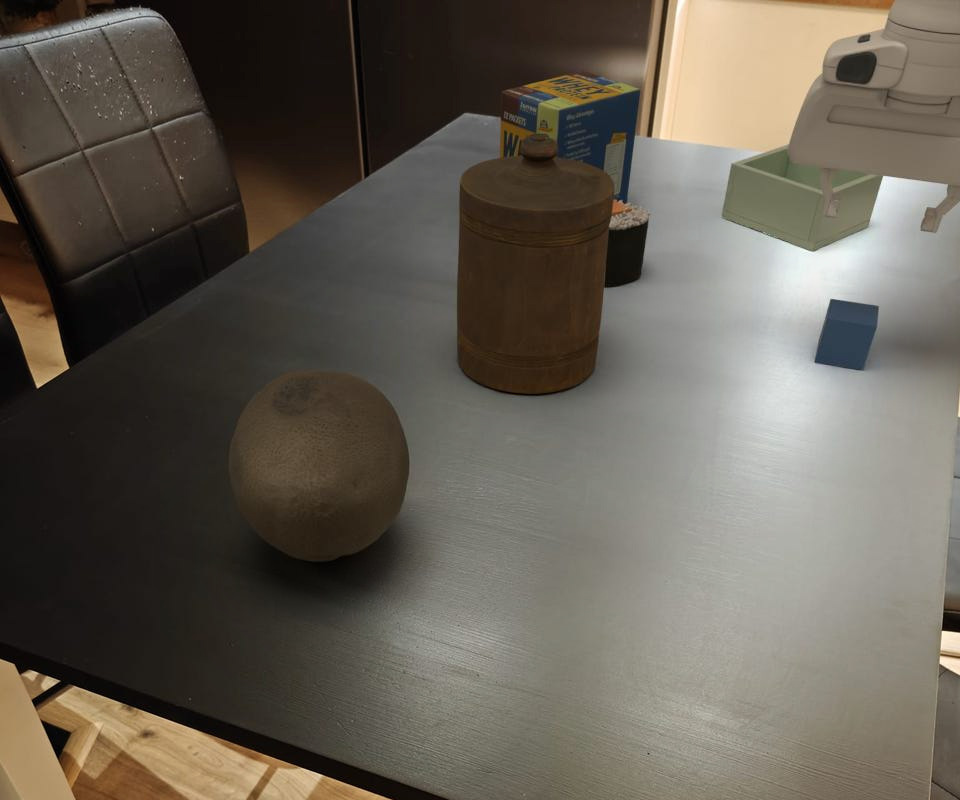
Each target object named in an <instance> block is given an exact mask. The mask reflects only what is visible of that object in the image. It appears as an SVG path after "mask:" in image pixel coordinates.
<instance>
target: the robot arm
mask: <svg viewBox="0 0 960 800" xmlns="http://www.w3.org/2000/svg"><path fill="white" fill-rule="evenodd" d="M788 142H789V143H788V144H789V146H788V150H787V153H788V155H789V158H790V160H791V161H792V163H794V164H799V165H806V166H814V167H821V168H822V169H821V173H820V177H819V182H820V185H821V189H822V192H823V196H824V198H825V202H824V205H823V209H822V213H821V216H823V217H830V218H836V216H837V212H838V208H839V205H840V202H841V197H842V195H838V194H834V193H833V189H832V185H831V181H833V180H834V177H835V174H836V170H843V171H851V172H858V173H866V174H873V175H881V176H883V177H889V178H897V179H903V180H910V181H911V180H912V181H919V182H926V183H933V184H941V185H947V187H946V197H945V198H944V199H942V201H941V202H940V203H939V204H937V206H936V207H930V206H927V207H926V209H925V212H924V217H923V218H922V221H921V223H920V232H926V233H932V234H936V233H937V232H938V230H939V227H940V224H941V222H942V219H943V216H946V215H947V214H948V213H949V212H950V211H951V210H952V209H953V208H954V207H955V206H956V205H957V204H958V203H959V202H960V0H894V1H893V3H892V5H891V7H890V8H889V11H888V14H887V17H886V21H885V26H884V28H881V29H878V30H874V31H869V32H865V33H860V34H855V35H851V36H846V37H842V38H839V39H836V40H835V41H833V42H832V43H831V44H830V45H829V47H828V48H827V50H826V51H825V54H824V57H823V61H822V66H821V73H820V74H819V75H818V76H817V77H816V78H815V79H814V81H813V82H812V83H811V85H810V87H809V89H808V91H807V93H806V95H805V98H804V100H803V101H802V105H801V107H800V110H799V112H798V114H797V118H796V120H795V123H794V127H793V130H792V133H791V136H790V139H789V141H788Z"/></svg>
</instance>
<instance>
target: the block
mask: <svg viewBox="0 0 960 800" xmlns="http://www.w3.org/2000/svg"><path fill="white" fill-rule="evenodd" d="M879 311H880V305H875V304H870V303H863V302H856V301H849V300H842V299H835V298H830V300H829V303H828V307H827V310H826V313H825V316H824V321H823V324H822V326H821V327H822V328H821V330H820V334H819V338H818V342H817V347H816V352H815V358H814V363H816V364H823V365H829V366H834V367H840V368H846V369H853V370H858V371H863V370H864V369H865V368H864V367H865V364H866V362H867V358H868V356H869V352H870V350H871V346H872V344H873V341H874V338H875V334H876V331H877V328H878V321H879Z"/></svg>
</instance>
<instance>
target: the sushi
mask: <svg viewBox="0 0 960 800" xmlns="http://www.w3.org/2000/svg"><path fill="white" fill-rule="evenodd" d="M631 204H632V203H631V202H627V203H626V204H624V203H623V201H622V200H620V201H618V202H617V200H615V199H614V201H613V209H612V217H611V221H610V224H609V235H608V245H607V257H606V268H605V281H604V288H605V287H606V288H611V287H612V288H613V287H618V286H622V285H626V284H629V283H631V282H633V281H636V280H638V279H639V278H640V277H641V276H642V271H643V264H644V257H645V249H646V243H647V235H648V228H649V220H650V216H651V212H650V211H649V210H648V209H643V206H642V205H640V206H638V205H631Z"/></svg>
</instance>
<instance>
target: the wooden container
mask: <svg viewBox="0 0 960 800" xmlns="http://www.w3.org/2000/svg"><path fill="white" fill-rule="evenodd" d="M520 152H521V155H522V156H509V157H502V158H500V157H497V158H491V159H487V160H484V161H481V162H478V163H475V164H474V165H472V166H470V167H468V168H467V169H465V171H464V172H463V173H462V174H461V176H460V179H459V193H458V195H459V197H458V204H459V205H458V211H459V212H458V213H459V219H458V251H457V252H458V253H457V254H458V256H457V276H456V277H457V278H456V281H457V282H456V354H457V356H456V357H457V358H456V359H457V363H458V366H459V367H460V369H461V370H462V371H463V373H464V374H465V375H467V377H469V378H470V379H472V380H473V381H475V382H477V383H479V384H480V385H483V386H486V387H488V388H491V389H494V390H498V391H502V392H505V393H506V392H508V393H513V394H515V393H516V394H525V395H536V394H549V393H554V392H555V393H556V392H560V391H564V390H567V389H570V388H572V387H574V386H576V385H577V386H578V384H581V383H582V382H584V381H585V380H586V379H588V378H589V376H590V375H591V374H592V373H593V372H594V370H595V367H596V364H597V363H596V362H597V361H596V360H597V354H598V348H599V336H600V329H601V323H602V315H603V314H602V313H603V304H604V293H605V286H604V281H605V268H606V257H607V245H608V235H609V224H610V221H611V217H612V209H613V201H614V182H613V180H612V178H611V177H610V176H609V175H608V174H607V173H606V172H604V171H602V170H601V169H599V168H597V167H595V166H592V165H590V164H587V163H583V162H580V161H576V160H571V159H565V158H559V157H555V156H556V155H557V154H558V146H557V144H556V142H555V141H554V140H553V139H551V138H549V135H547V134H543V133H541V134H540V133H535V134H531V135H530V137H527V138H525V139H524V140H523V141H522V142H521V147H520Z"/></svg>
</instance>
